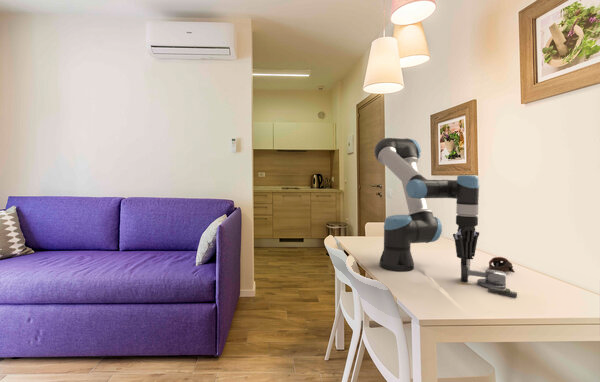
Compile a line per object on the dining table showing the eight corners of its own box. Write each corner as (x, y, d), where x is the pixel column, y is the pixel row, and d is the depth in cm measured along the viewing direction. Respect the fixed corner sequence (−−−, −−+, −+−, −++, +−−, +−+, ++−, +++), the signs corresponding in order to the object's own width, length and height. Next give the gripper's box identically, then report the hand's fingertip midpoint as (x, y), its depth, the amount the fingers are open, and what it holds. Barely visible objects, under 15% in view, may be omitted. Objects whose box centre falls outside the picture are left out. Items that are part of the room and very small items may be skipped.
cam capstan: (504, 283, 120) (505, 267, 120) (506, 291, 112) (507, 273, 112) (461, 277, 127) (461, 262, 127) (460, 284, 119) (460, 267, 119)
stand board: (452, 288, 119) (453, 278, 119) (469, 277, 133) (469, 268, 133) (515, 303, 106) (515, 291, 105) (526, 288, 119) (526, 278, 119)
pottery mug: (521, 278, 133) (515, 263, 131) (498, 287, 134) (492, 271, 132) (505, 263, 144) (499, 249, 142) (484, 272, 146) (478, 257, 144)
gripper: (468, 213, 131) (466, 270, 132) (447, 215, 125) (445, 275, 126) (486, 215, 124) (484, 275, 125) (465, 217, 118) (463, 280, 119)
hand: (465, 275), depth 125 cm, fingers closed
